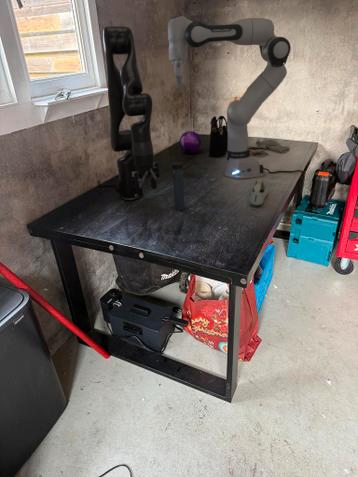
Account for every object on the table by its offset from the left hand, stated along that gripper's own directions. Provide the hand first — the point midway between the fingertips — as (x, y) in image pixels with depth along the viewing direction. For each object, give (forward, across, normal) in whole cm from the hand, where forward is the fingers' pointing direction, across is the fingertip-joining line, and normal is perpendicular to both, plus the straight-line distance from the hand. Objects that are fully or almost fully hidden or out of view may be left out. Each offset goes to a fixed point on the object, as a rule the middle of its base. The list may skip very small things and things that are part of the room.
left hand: (147, 192), depth 131 cm
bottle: (+16, -22, 0) cm, 27 cm away
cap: (-5, -22, 0) cm, 22 cm away
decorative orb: (+16, -102, -46) cm, 113 cm away
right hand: (-32, -59, -23) cm, 71 cm away
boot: (+16, -132, -42) cm, 139 cm away
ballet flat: (+16, -50, +27) cm, 59 cm away
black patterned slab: (+16, -109, -26) cm, 114 cm away
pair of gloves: (+16, -127, -3) cm, 128 cm away
